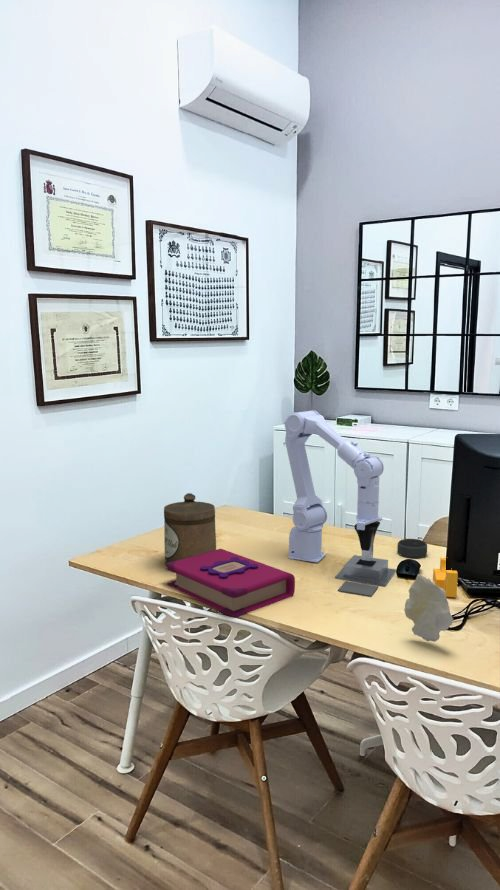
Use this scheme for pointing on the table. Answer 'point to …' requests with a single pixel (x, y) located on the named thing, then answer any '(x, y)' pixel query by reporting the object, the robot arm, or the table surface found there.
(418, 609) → the stone tool
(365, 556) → the orange and grey block
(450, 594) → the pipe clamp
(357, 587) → the mat
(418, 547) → the smart speaker
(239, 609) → the book
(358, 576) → the block
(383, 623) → the table surface
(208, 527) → the wooden container
